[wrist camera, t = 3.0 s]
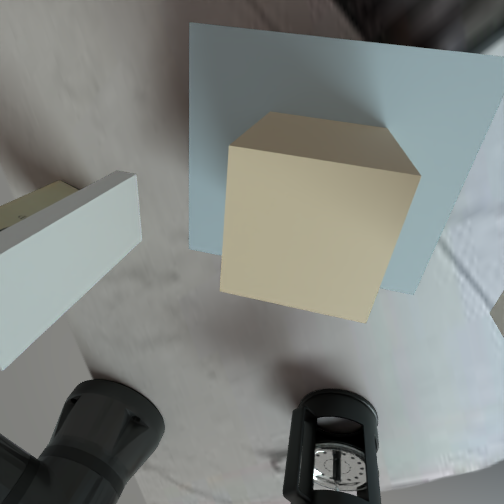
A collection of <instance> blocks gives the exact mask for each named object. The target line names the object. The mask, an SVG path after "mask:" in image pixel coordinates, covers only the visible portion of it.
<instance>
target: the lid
mask: <svg viewBox="0 0 504 504" xmlns="http://www.w3.org/2000/svg"><path fill="white" fill-rule="evenodd" d="M503 95H504V57H501V56H492V55H483V54H474V53H465V52H456V51H447V50H438V49H429V48H419V47H410V46H401V45H392V44H383V43H374V42H365V41H356V40H347V39H338V38H329V37H320V36H311V35H301V34H292V33H283V32H274V31H265V30H256V29H247V28H238V27H229V26H220V25H211V24H202V23H192V22H189V249H191V250H196V251H201V252H206V253H211V254H216V255H221V256H222V262H221V278H220V292H225V293H229V294H234V295H238V296H243V297H248V298H252V299H257V300H261V301H266V302H270V303H275V304H279V305H284V306H288V307H293V308H298V309H302V310H307V311H311V312H316V313H320V314H325V315H329V316H334V317H339V318H343V319H348V320H352V321H357V322H361V323H366V322H367V320H368V317H369V314H370V312H371V309H372V306H373V304H374V301H375V298H376V296H377V293H378V290H379V288H382V289H387V290H392V291H396V292H401V293H406V294H411V295H414V293H415V291H416V289H417V287H418V284H419V282H420V280H421V278H422V275H423V273H424V271H425V269H426V267H427V264H428V262H429V260H430V258H431V255H432V253H433V251H434V249H435V247H436V244H437V242H438V240H439V238H440V235H441V233H442V231H443V229H444V227H445V224H446V222H447V220H448V218H449V215H450V213H451V211H452V209H453V207H454V204H455V202H456V200H457V198H458V195H459V193H460V191H461V189H462V187H463V184H464V182H465V180H466V178H467V175H468V173H469V171H470V169H471V167H472V164H473V162H474V160H475V158H476V155H477V153H478V151H479V149H480V147H481V144H482V142H483V140H484V138H485V135H486V133H487V131H488V129H489V127H490V124H491V122H492V120H493V118H494V115H495V113H496V111H497V109H498V107H499V104H500V102H501V100H502V98H503Z"/></svg>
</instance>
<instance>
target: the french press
mask: <svg viewBox="0 0 504 504" xmlns="http://www.w3.org/2000/svg"><path fill="white" fill-rule="evenodd" d="M320 417H340V418H345V419H349V420H352V421H354V422H357V423H359V424H361V425H362V427H363V429H361V430H360V431H358V432H356V433H352V434H346V435H340V434H333V433H329V432H326V431H324V430H322V429H320V428H318V427H317V418H320ZM377 426H378V416H377V412H376V410H375V409H374V407H373V406H372V405H371V404H370V403H369V402H368V401H367V400H366V399H364V398H363V397H361V396H359V395H357V394H355V393H352V392H349V391H345V390H340V389H323V390H318V391H315V392H312V393H310V394H308V395H307V396H305V397H304V398H303V399H302V400H301V402H300V404H299V408H297V409H295V410H293V413H292V421H291V429H290V437H289V445H288V453H287V461H286V469H285V477H284V485H283V496H284V497H285V498H286V499H287V500H289V501H290V502H291V504H381V496H380V486H379V470H378V466H377V456H376V453H377V451H378V448H379V441H378V432H377ZM299 477H300V480H299ZM314 482H315V483H317V484H319V485H321V486H324V487H326V488H330V489H334V490H335V491H333V490H313V485H314ZM339 490H340V491H357V496H354V495H351V494H348V493H344V492H339Z"/></svg>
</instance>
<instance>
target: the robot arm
mask: <svg viewBox="0 0 504 504" xmlns="http://www.w3.org/2000/svg"><path fill="white" fill-rule="evenodd" d="M141 241H142V232H141V220H140V209H139V198H138V186H137V175H136V174H134V173H128V172H123V171H115V172H113V173H111V174H109V175H107V176H105V177H104V178H102V179H100V180H98V181H96V182H94V183H92V184H90V185H88V186H86V187H84V188H83V189H81V190H79V191H77V192H75V193H73V194H71V195H69V196H67V197H65V198H63V199H62V200H60V201H58V202H56V203H54V204H52V205H50V206H48V207H46V208H44V209H42V210H41V211H39V212H37V213H35V214H33V215H31V216H29V217H27V218H25V219H23V220H21V221H20V222H18V223H16V224H14V225H12V226H9V227H6V228H3V229H1V230H0V370H2V371H3V370H4V369H6V368H7V367H8V366H9V365H10V364H11V363H12V362H13V361H14V360H15V359H16V358H17V357H18V356H19V355H20V354H22V352H24V351H25V350H26V349H27V348H28V347H29V346H30V345H31V344H32V343H33V342H34V341H35V340H36V339H37V338H38V337H40V335H42V334H43V333H44V332H45V331H46V330H47V329H48V328H49V327H50V326H51V325H52V324H53V323H54V322H56V321H57V319H59V318H60V317H61V316H62V315H63V314H64V313H65V312H66V311H67V310H68V309H69V308H70V307H71V306H73V305H74V304H75V303H76V302H77V301H78V300H79V299H80V298H81V297H82V296H83V295H84V294H85V293H86V292H87V291H89V290H90V289H91V288H92V287H93V286H94V285H95V284H96V283H97V282H98V281H99V280H100V279H101V278H102V277H103V276H104V275H106V274H107V273H108V272H109V271H110V270H111V269H112V268H113V267H114V266H115V265H116V264H117V263H118V262H119V261H120V260H121V259H123V258H124V257H125V256H126V255H127V254H128V253H129V252H130V251H131V250H132V249H133V248H134V247H135V246H136V245H137V244H138V243H140V242H141ZM490 315H491V316H492V318H493V320H494V322H495V323H496V325H497V327H498V329H499V330H500V332H501V334H502V336H503V337H504V291H503V293H502V294H501V296H500V297H499V299H498V301H497V302H496V304H495V305H494V307H493V308H492V310H491V312H490ZM164 430H165V425H164V421H163V419H162V416H161V415H160V413H159V412H158V410H157V409H156V408H155V407H154V406H153V405H152V404H151V403H150V402H149V401H148V400H147V399H146V398H144V397H143V396H142V395H140V394H139V393H137V392H135V391H134V390H132V389H130V388H128V387H126V386H123V385H121V384H118V383H115V382H111V381H106V380H88V381H84V382H82V383H80V384H79V385H78V386H77V387H76V388H75V389H74V391H73V392H72V393H71V394H70V396H69V397H68V398H67V400H66V402H65V404H64V407H63V409H62V412H61V415H60V417H59V419H58V422H57V425H56V427H55V430H54V432H53V435H52V437H51V440H50V442H49V444H48V445H47V447H46V448H45V449H44V451H43V452H42V454H41V455H40V456H39V458H38V459H36V458H35V457H33V456H32V455H30V454H29V453H27V452H26V451H25V450H23V449H22V448H20V447H19V446H17V445H16V444H14V443H13V442H12V441H10V440H9V439H7V438H6V437H4V436H3V435H2V434H0V504H116V503H117V501H118V499H119V497H120V495H121V493H122V491H123V489H124V487H125V485H126V484H127V482H128V481H129V480H130V478H131V477H132V476H133V475H134V474H135V473H136V472H137V470H138V469H139V468H140V467H141V466H142V465H143V464H144V462H145V461H146V460H147V459H148V458H149V457H150V456H151V454H152V453H153V452H154V451H155V450H156V448H157V447H158V445H159V442H160V440H161V438H162V436H163V434H164Z"/></svg>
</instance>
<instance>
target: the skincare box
mask: <svg viewBox="0 0 504 504" xmlns="http://www.w3.org/2000/svg"><path fill="white" fill-rule="evenodd" d="M77 191H79V190H78V189H76V188H74V187H72V186H70V185H68V184H66V183H64V182H62V181H60V180H59V181H56V182H54V183H51V184H49V185H47V186H45V187H43V188H40V189H38V190H36V191H33V192H31V193H29V194H27V195H24V196H22V197H20V198H18V199H15V200H13V201H11V202H9V203H7V204H4V205H2V206H0V230H1V229H3V228H6V227H9V226H12V225H14V224H16V223H18V222H20V221H21V220H23V219H25V218H27V217H29V216H31V215H33V214H35V213H37V212H39V211H41V210H42V209H44V208H46V207H48V206H50V205H52V204H54V203H56V202H58V201H60V200H62V199H63V198H65V197H67V196H69V195H71V194H73V193H75V192H77Z"/></svg>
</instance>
